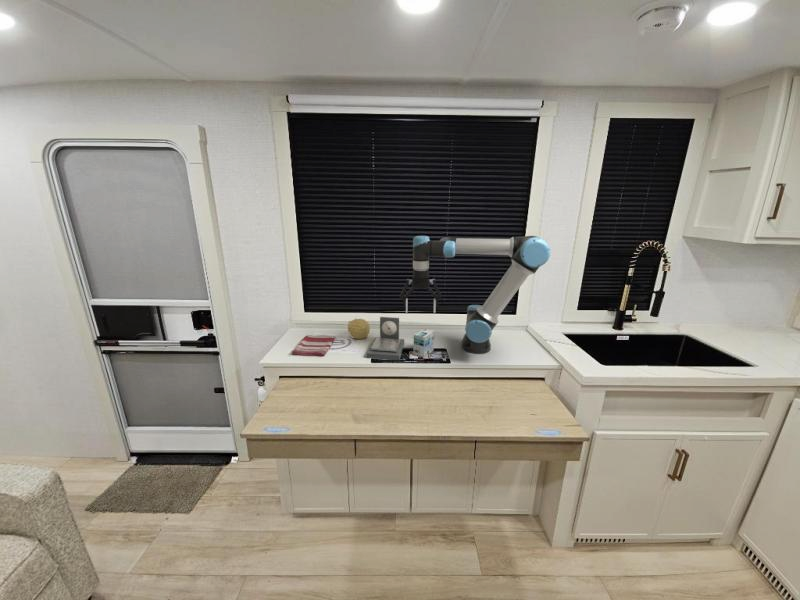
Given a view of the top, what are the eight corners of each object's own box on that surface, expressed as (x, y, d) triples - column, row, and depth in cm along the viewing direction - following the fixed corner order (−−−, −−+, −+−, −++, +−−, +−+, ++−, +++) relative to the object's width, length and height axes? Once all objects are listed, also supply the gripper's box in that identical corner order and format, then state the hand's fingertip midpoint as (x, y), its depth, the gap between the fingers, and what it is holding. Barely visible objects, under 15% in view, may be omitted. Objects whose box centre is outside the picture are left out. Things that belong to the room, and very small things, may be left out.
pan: (400, 342, 171) (400, 339, 171) (397, 352, 159) (397, 349, 158) (376, 340, 173) (376, 337, 172) (371, 351, 160) (371, 348, 160)
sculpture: (345, 339, 180) (344, 321, 177) (355, 331, 191) (354, 314, 188) (364, 342, 177) (364, 323, 174) (373, 334, 188) (373, 316, 185)
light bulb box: (424, 357, 160) (425, 337, 157) (412, 354, 164) (413, 334, 161) (434, 350, 169) (435, 330, 166) (422, 347, 172) (423, 328, 169)
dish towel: (290, 356, 161) (290, 351, 160) (306, 337, 183) (306, 333, 182) (324, 357, 160) (324, 352, 159) (336, 338, 182) (336, 334, 181)
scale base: (404, 343, 176) (404, 318, 172) (399, 360, 157) (399, 332, 153) (375, 341, 178) (375, 316, 174) (366, 357, 159) (366, 330, 155)
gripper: (446, 267, 157) (445, 309, 163) (394, 267, 158) (395, 309, 164) (448, 270, 150) (446, 314, 156) (394, 270, 151) (394, 314, 157)
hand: (420, 312), depth 160 cm, fingers open, 13 cm apart
